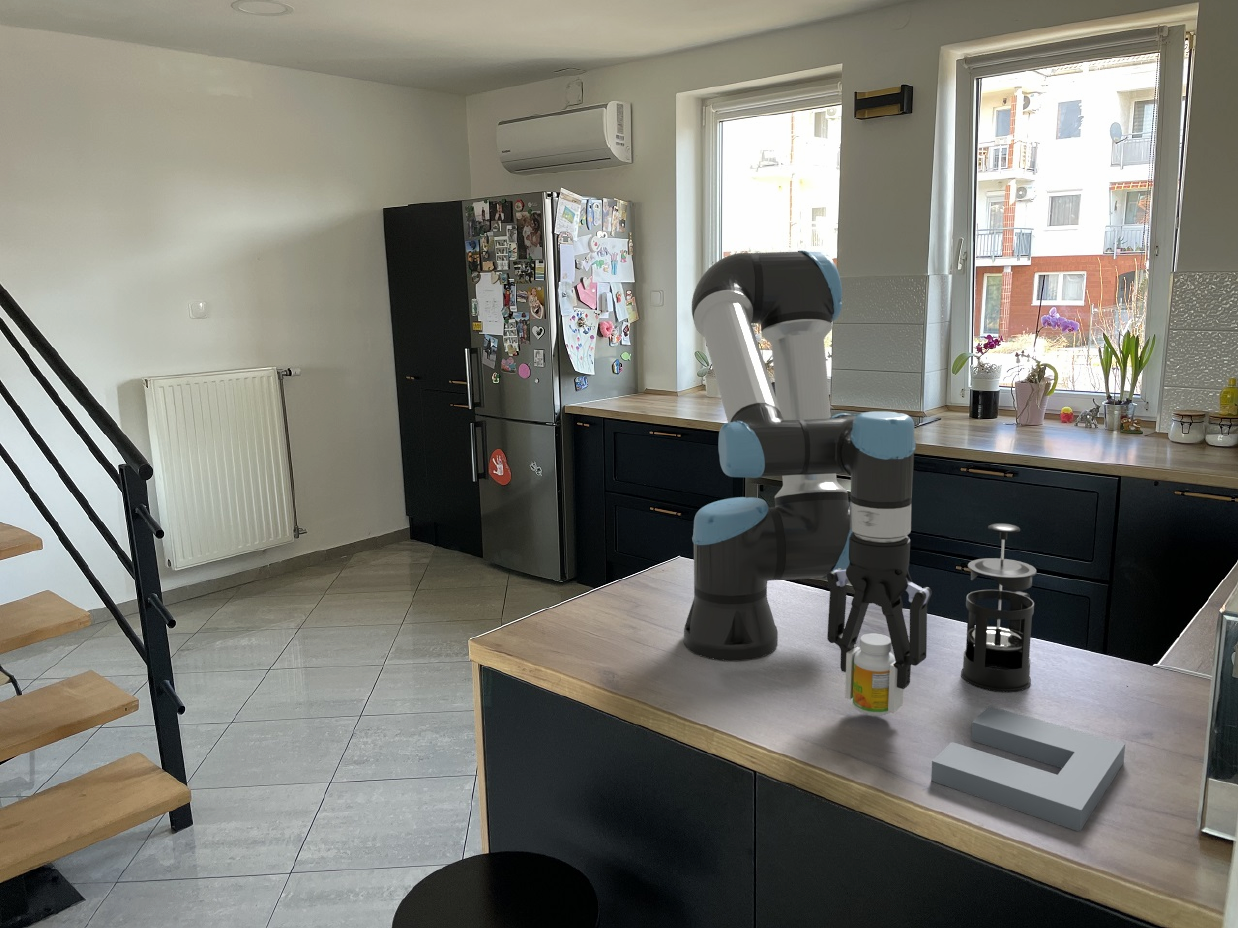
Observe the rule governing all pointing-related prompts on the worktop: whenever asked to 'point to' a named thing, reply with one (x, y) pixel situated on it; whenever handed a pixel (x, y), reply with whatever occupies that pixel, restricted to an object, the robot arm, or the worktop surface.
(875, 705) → the supplement bottle
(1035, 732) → the notched board
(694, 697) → the worktop surface
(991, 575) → the french press
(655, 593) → the worktop surface
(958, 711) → the worktop surface
